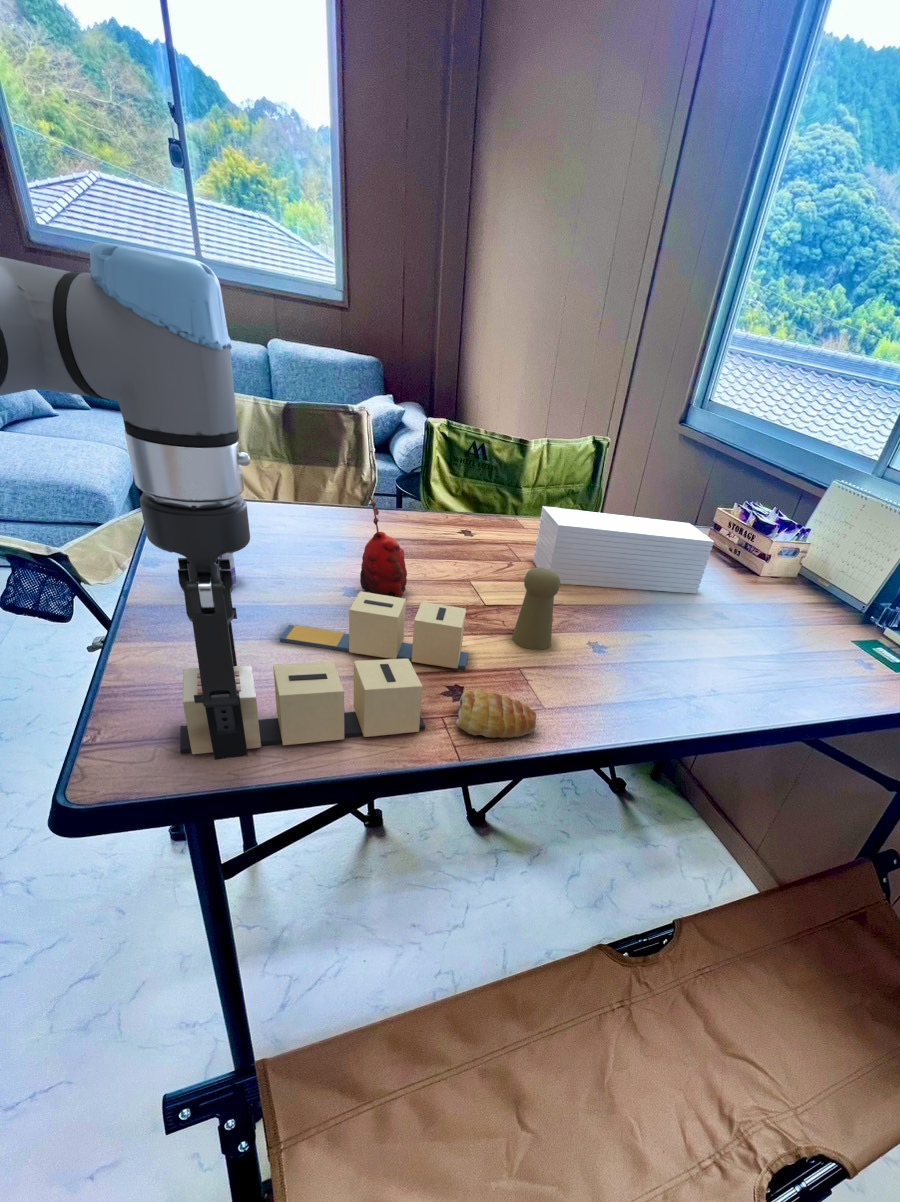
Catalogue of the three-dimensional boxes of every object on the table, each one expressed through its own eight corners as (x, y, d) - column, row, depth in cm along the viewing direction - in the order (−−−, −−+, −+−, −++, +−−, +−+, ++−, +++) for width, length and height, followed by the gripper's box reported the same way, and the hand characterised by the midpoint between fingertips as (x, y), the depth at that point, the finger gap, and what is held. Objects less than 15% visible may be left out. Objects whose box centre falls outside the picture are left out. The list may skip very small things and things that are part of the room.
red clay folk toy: (413, 599, 98) (419, 502, 89) (370, 602, 94) (372, 502, 86) (394, 580, 103) (398, 486, 94) (352, 582, 99) (352, 485, 90)
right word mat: (276, 644, 79) (273, 596, 75) (291, 624, 84) (289, 578, 80) (464, 673, 82) (470, 628, 79) (468, 652, 87) (473, 609, 83)
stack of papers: (674, 573, 133) (689, 523, 127) (696, 593, 125) (714, 541, 119) (532, 561, 123) (542, 506, 117) (547, 582, 115) (558, 524, 108)
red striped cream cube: (192, 754, 59) (182, 701, 56) (191, 719, 63) (182, 667, 60) (261, 747, 62) (256, 696, 58) (256, 714, 66) (251, 664, 63)
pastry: (532, 713, 77) (537, 687, 75) (536, 745, 72) (542, 719, 70) (456, 705, 76) (460, 678, 73) (454, 738, 70) (458, 710, 68)
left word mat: (180, 759, 59) (169, 701, 55) (181, 724, 63) (170, 668, 59) (427, 734, 70) (432, 684, 66) (413, 705, 74) (417, 656, 70)
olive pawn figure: (558, 642, 95) (573, 573, 89) (537, 653, 91) (551, 582, 85) (526, 627, 97) (538, 559, 91) (504, 638, 93) (515, 567, 87)
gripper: (257, 551, 42) (282, 788, 54) (237, 456, 60) (259, 651, 72) (126, 549, 39) (183, 802, 51) (145, 450, 56) (184, 655, 68)
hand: (227, 714), depth 61 cm, fingers open, 13 cm apart
